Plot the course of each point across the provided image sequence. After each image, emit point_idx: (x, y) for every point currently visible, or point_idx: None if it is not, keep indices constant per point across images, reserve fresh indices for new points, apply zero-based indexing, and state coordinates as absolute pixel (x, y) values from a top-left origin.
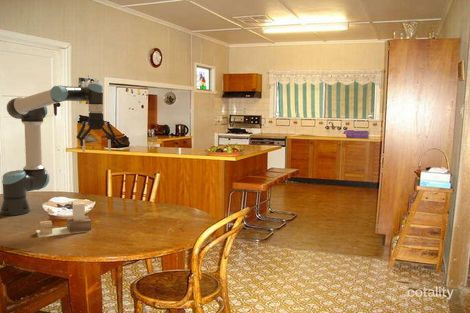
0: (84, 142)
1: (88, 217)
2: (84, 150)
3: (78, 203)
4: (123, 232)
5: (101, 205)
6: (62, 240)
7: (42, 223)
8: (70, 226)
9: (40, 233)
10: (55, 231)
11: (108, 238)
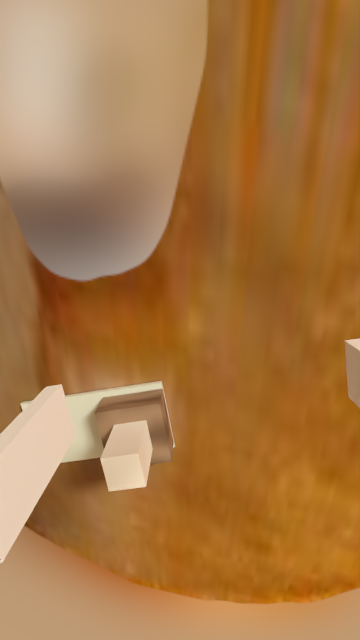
0: (21, 528)
1: (162, 425)
2: (66, 448)
3: (123, 475)
4: (260, 459)
5: (215, 64)
6: (103, 483)
7: None
8: None
9: None
10: (75, 428)
11: (216, 496)
